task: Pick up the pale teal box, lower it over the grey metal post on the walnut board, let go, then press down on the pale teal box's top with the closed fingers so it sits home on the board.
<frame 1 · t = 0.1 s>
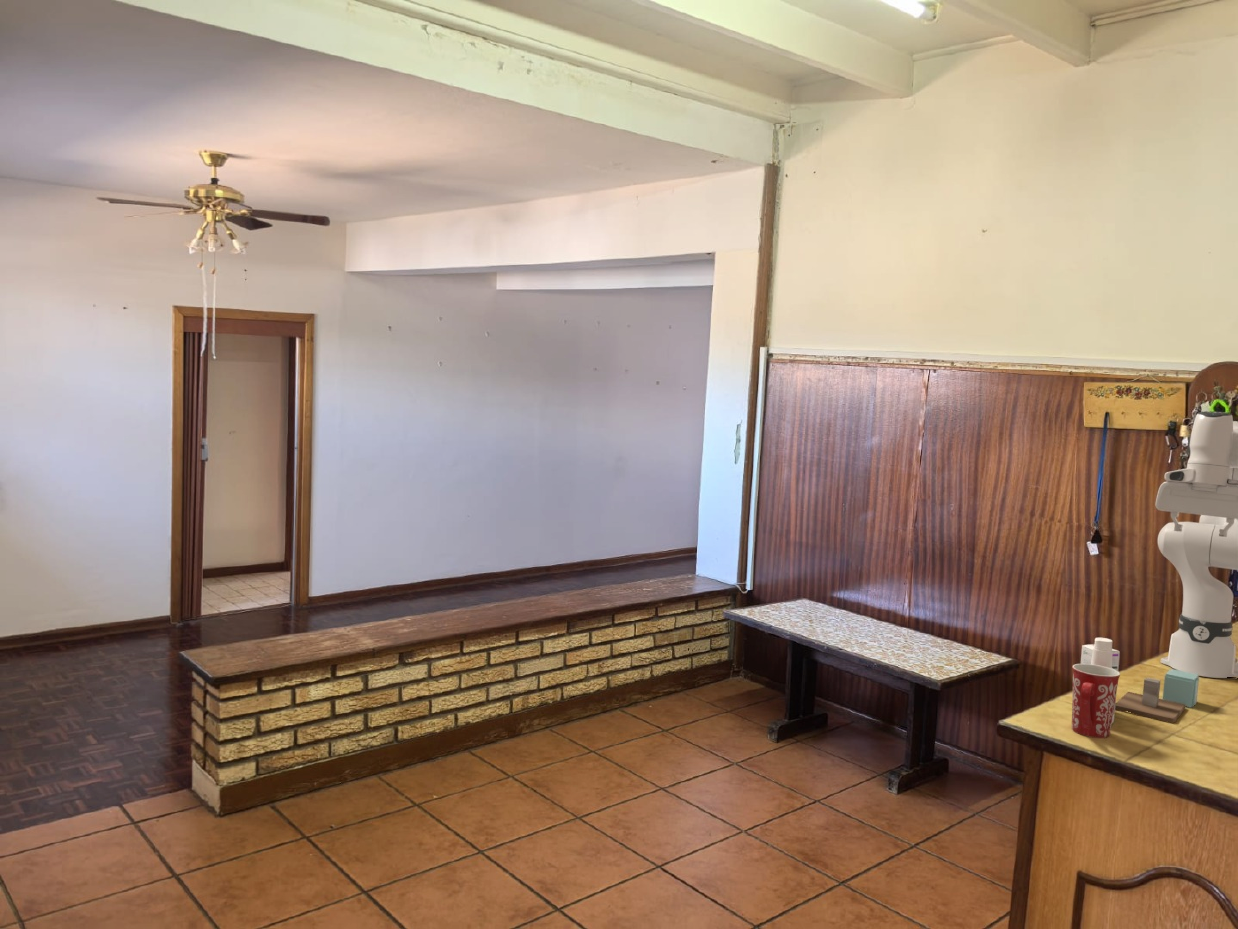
hand: (1200, 534, 232), 39 cm above the table, tool pointing down, fingers open, 8 cm apart
pale teal box: (1179, 701, 226), on the table
mug: (1087, 734, 201), on the table
post board: (1149, 709, 219), on the table
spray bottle: (1096, 720, 210), on the table, touching syrup box
syrup box: (1095, 711, 216), on the table, touching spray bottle
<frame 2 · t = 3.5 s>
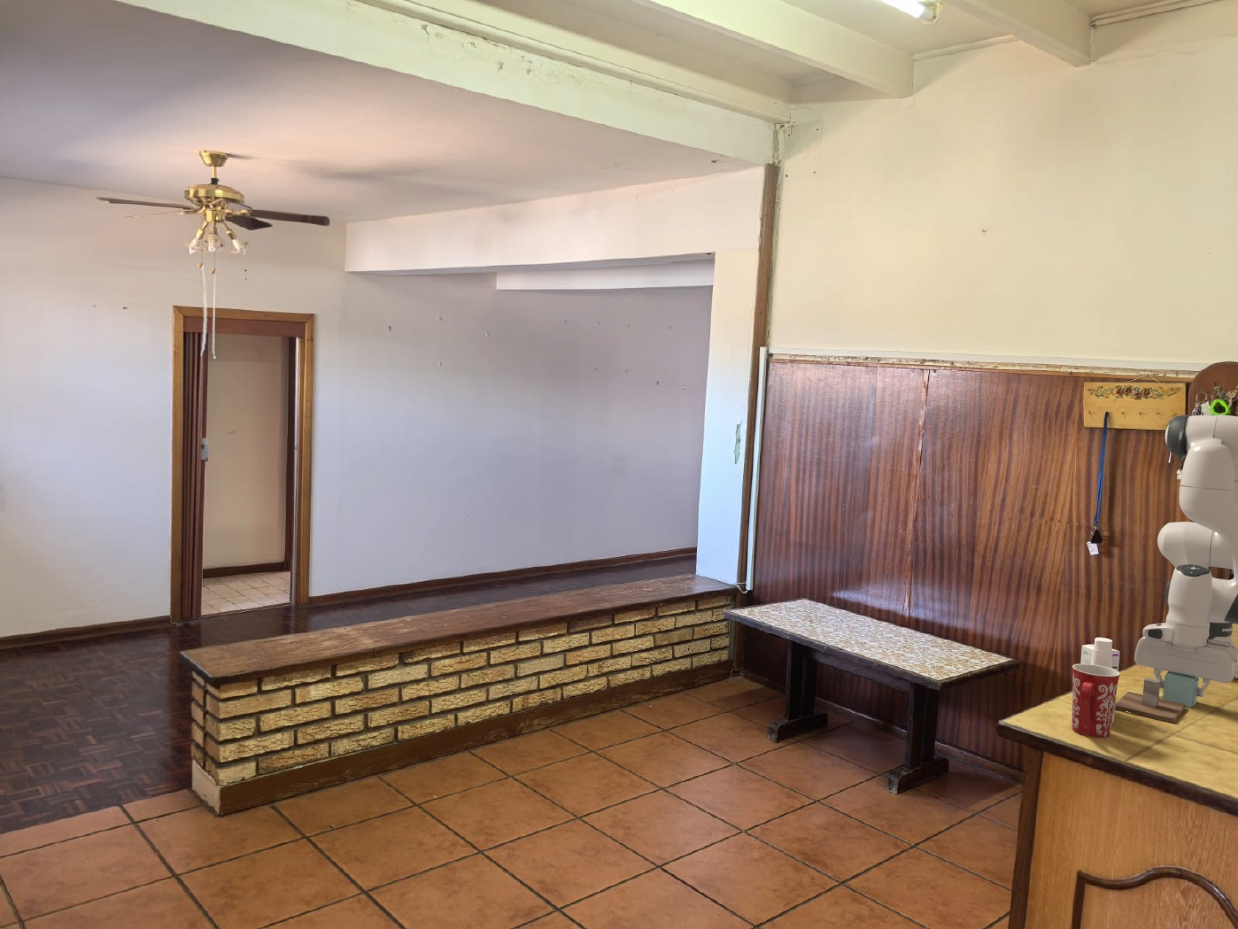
hand: (1180, 692, 226), 2 cm above the table, tool pointing down, fingers closed on pale teal box, 6 cm apart
pale teal box: (1179, 701, 226), on the table, touching gripper
everything else where it was.
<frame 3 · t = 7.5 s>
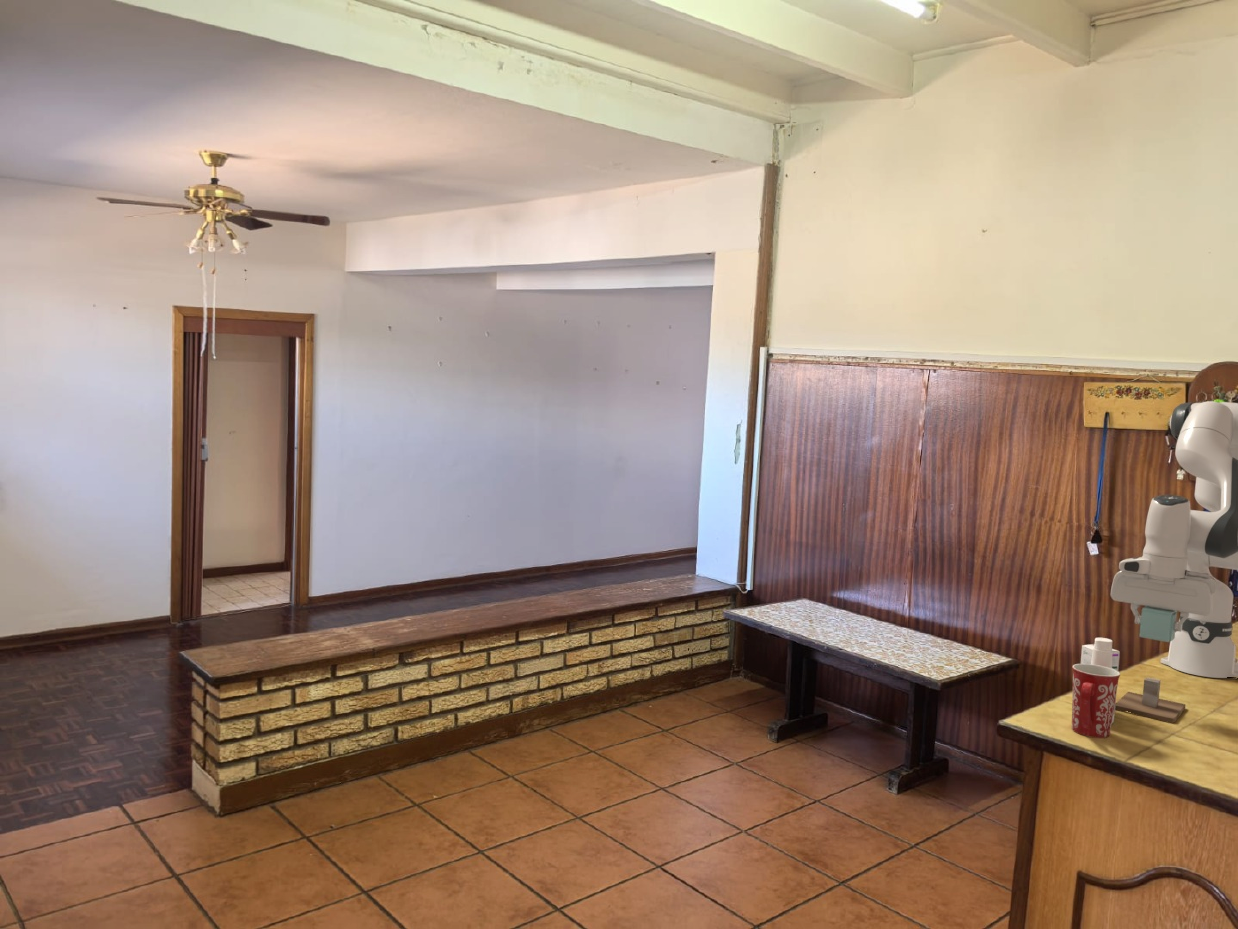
hand: (1157, 627, 218), 19 cm above the table, tool pointing down, fingers closed on pale teal box, 6 cm apart
pale teal box: (1156, 637, 218), point 17 cm above the table, touching gripper
everything else where it was.
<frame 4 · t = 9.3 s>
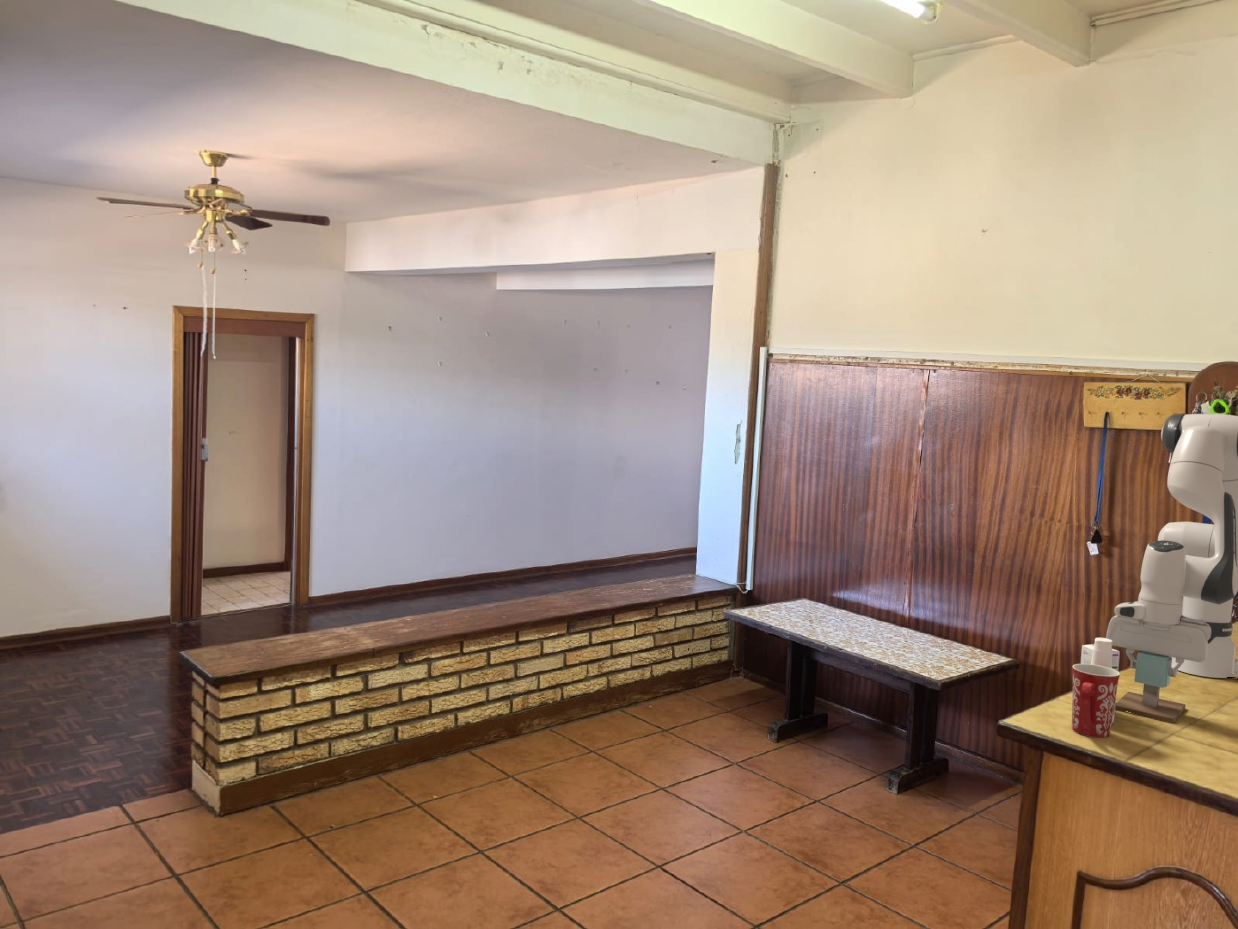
hand: (1153, 672, 218), 9 cm above the table, tool pointing down, fingers closed on pale teal box, 6 cm apart
pale teal box: (1152, 682, 219), point 6 cm above the table, touching gripper
everything else where it was.
when the fingers open (5 cm above the table, at t = 11.1 s): pale teal box drops 1 cm, resting on post board.
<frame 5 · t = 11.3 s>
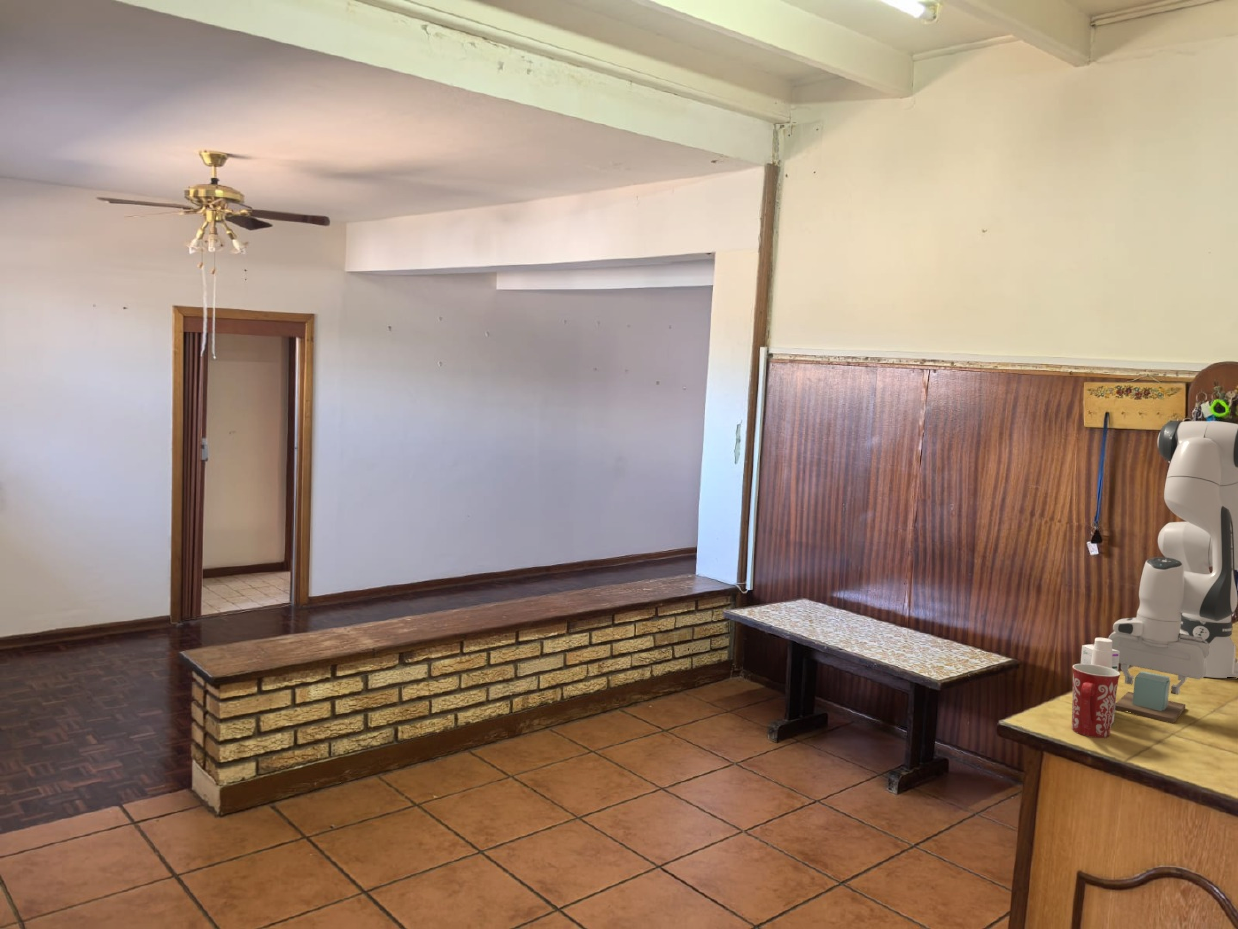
hand: (1151, 688, 219), 5 cm above the table, tool pointing down, fingers open, 8 cm apart
pale teal box: (1149, 704, 219), point 1 cm above the table, touching post board
everything else where it was.
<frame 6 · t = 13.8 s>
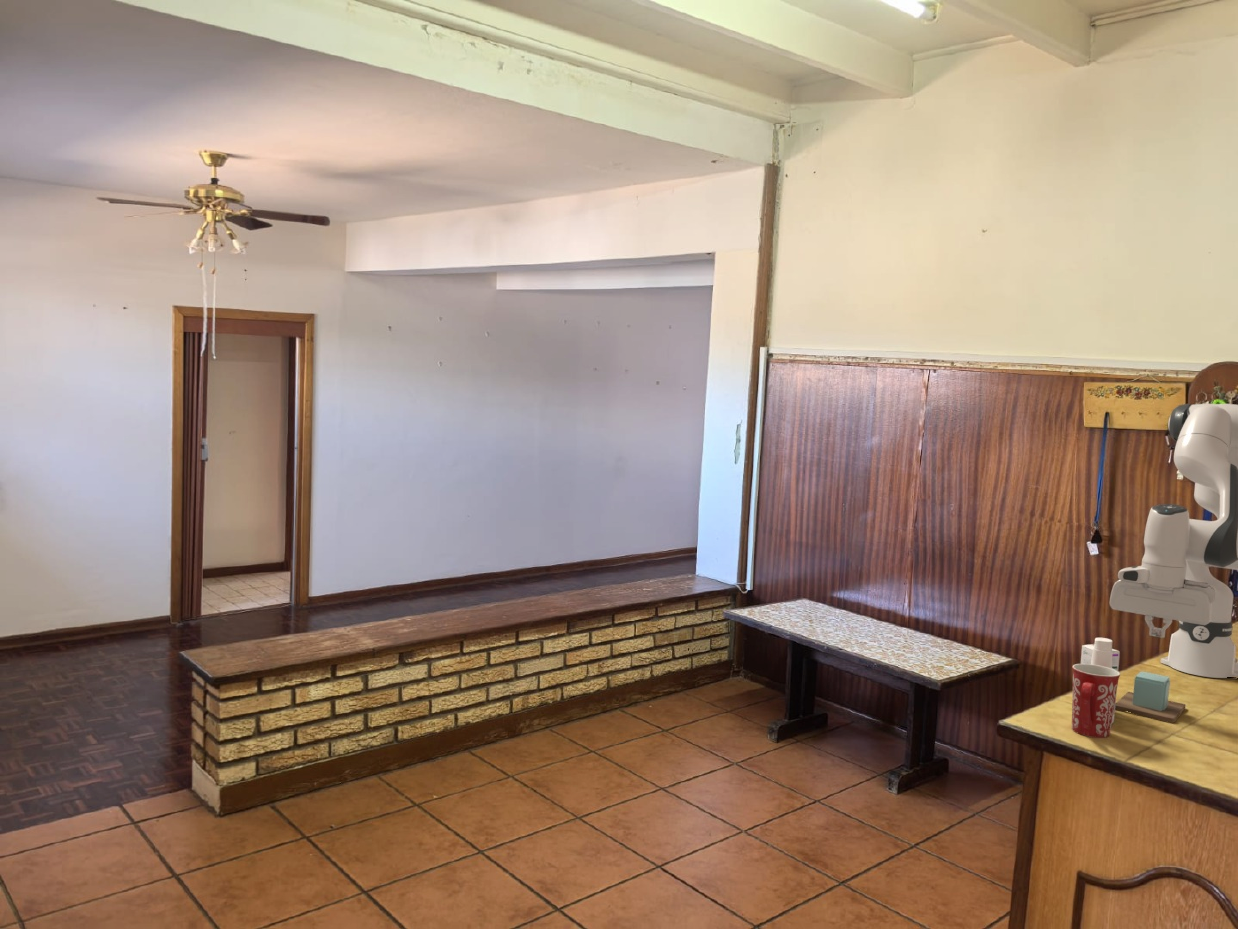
hand: (1156, 636, 218), 17 cm above the table, tool pointing down, fingers closed
nothing on the table moved.
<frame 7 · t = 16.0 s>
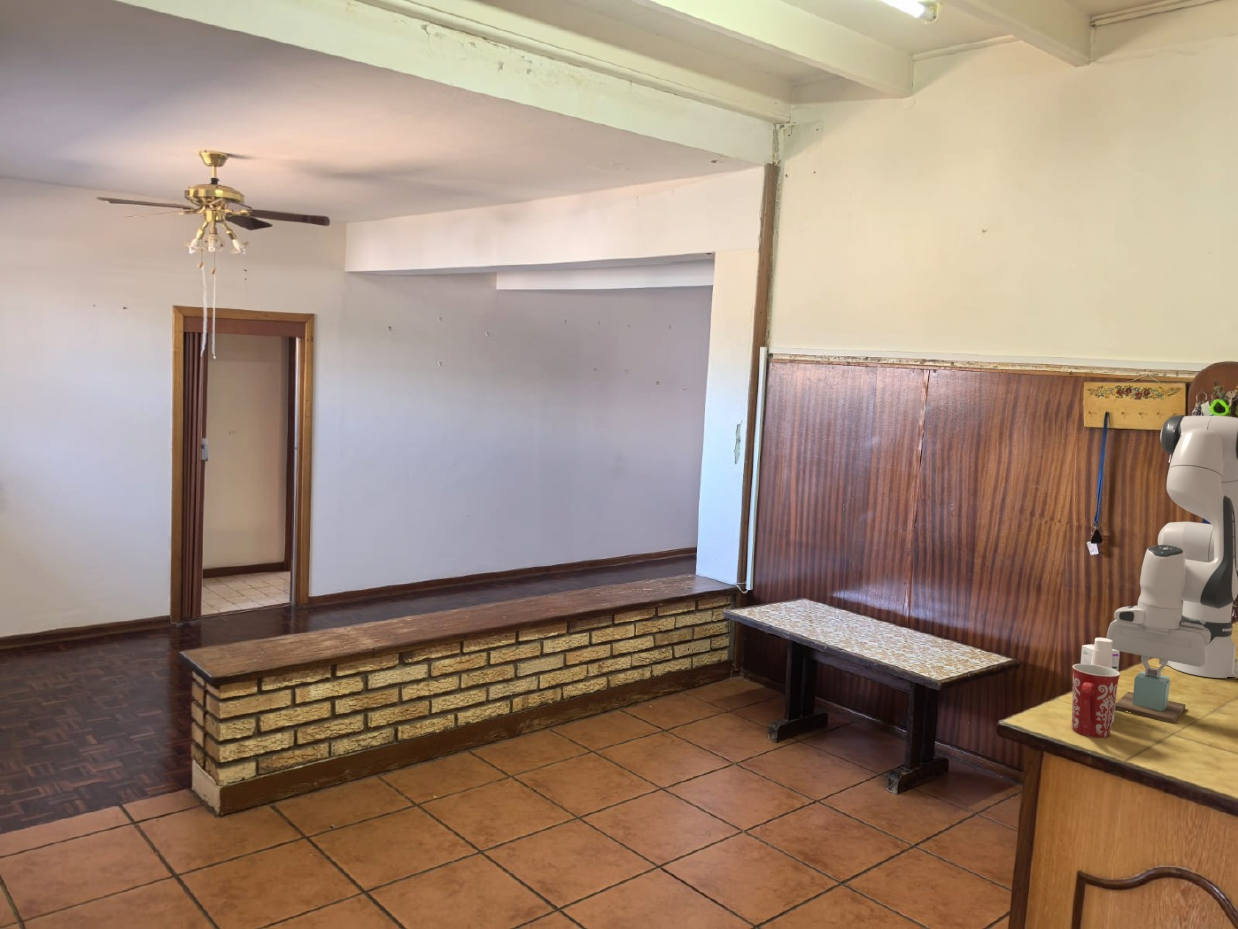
hand: (1152, 676, 219), 8 cm above the table, tool pointing down, fingers closed, pressing on pale teal box
pale teal box: (1149, 704, 219), point 1 cm above the table, touching gripper, post board
everything else where it was.
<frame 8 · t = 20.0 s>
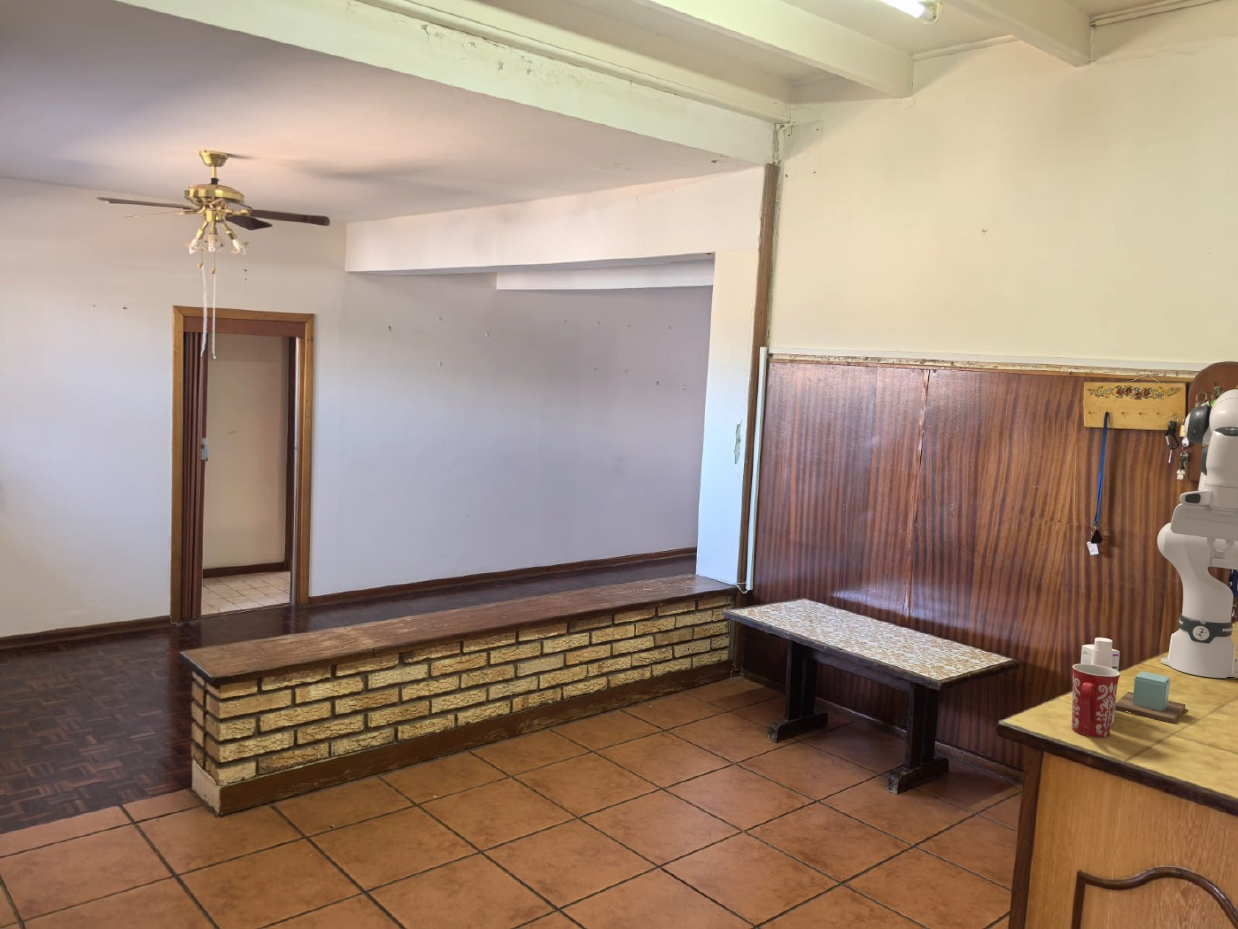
hand: (1218, 558, 219), 35 cm above the table, tool pointing down, fingers closed
pale teal box: (1149, 704, 219), point 1 cm above the table, touching post board
everything else where it was.
at the end: pale teal box 0.0 cm from the post board (horizontally); pale teal box point 1.0 cm above the table; pale teal box tilted 0° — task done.
